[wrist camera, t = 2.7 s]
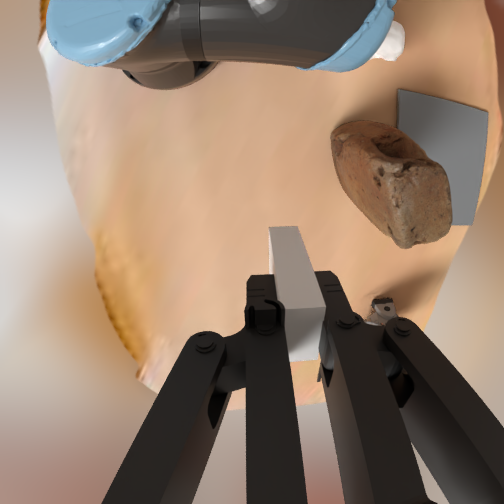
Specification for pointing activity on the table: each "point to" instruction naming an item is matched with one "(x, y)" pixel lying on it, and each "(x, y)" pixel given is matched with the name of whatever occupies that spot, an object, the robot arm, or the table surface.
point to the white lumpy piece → (392, 43)
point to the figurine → (382, 312)
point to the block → (393, 182)
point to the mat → (449, 144)
